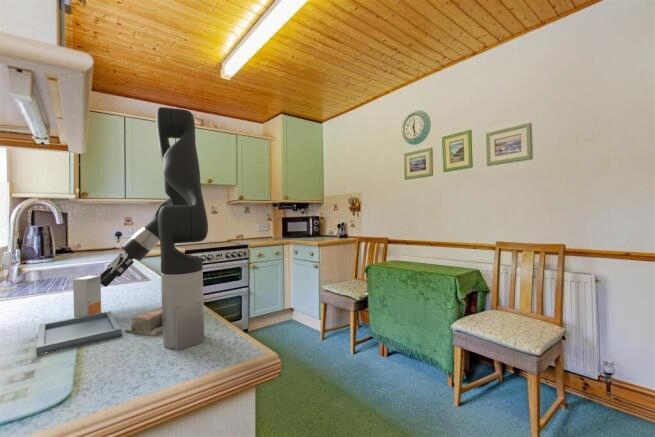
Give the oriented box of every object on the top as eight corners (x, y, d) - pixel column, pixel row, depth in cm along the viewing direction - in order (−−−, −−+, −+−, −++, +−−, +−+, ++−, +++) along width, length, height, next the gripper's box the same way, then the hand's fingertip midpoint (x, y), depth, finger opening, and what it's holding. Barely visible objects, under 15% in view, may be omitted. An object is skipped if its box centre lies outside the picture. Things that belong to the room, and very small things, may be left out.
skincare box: (87, 318, 94) (86, 279, 94) (73, 318, 94) (72, 279, 94) (102, 312, 100) (101, 275, 100) (89, 312, 100) (88, 275, 100)
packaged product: (154, 318, 80) (123, 316, 82) (155, 337, 80) (124, 334, 83) (200, 299, 97) (173, 297, 100) (201, 314, 97) (174, 312, 100)
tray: (121, 335, 80) (121, 328, 80) (36, 355, 70) (36, 347, 70) (110, 316, 95) (110, 311, 95) (39, 330, 85) (39, 324, 85)
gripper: (128, 235, 110) (88, 272, 103) (135, 238, 100) (92, 279, 92) (145, 249, 114) (108, 285, 107) (154, 252, 103) (114, 293, 96)
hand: (101, 282), depth 100 cm, fingers open, 8 cm apart
